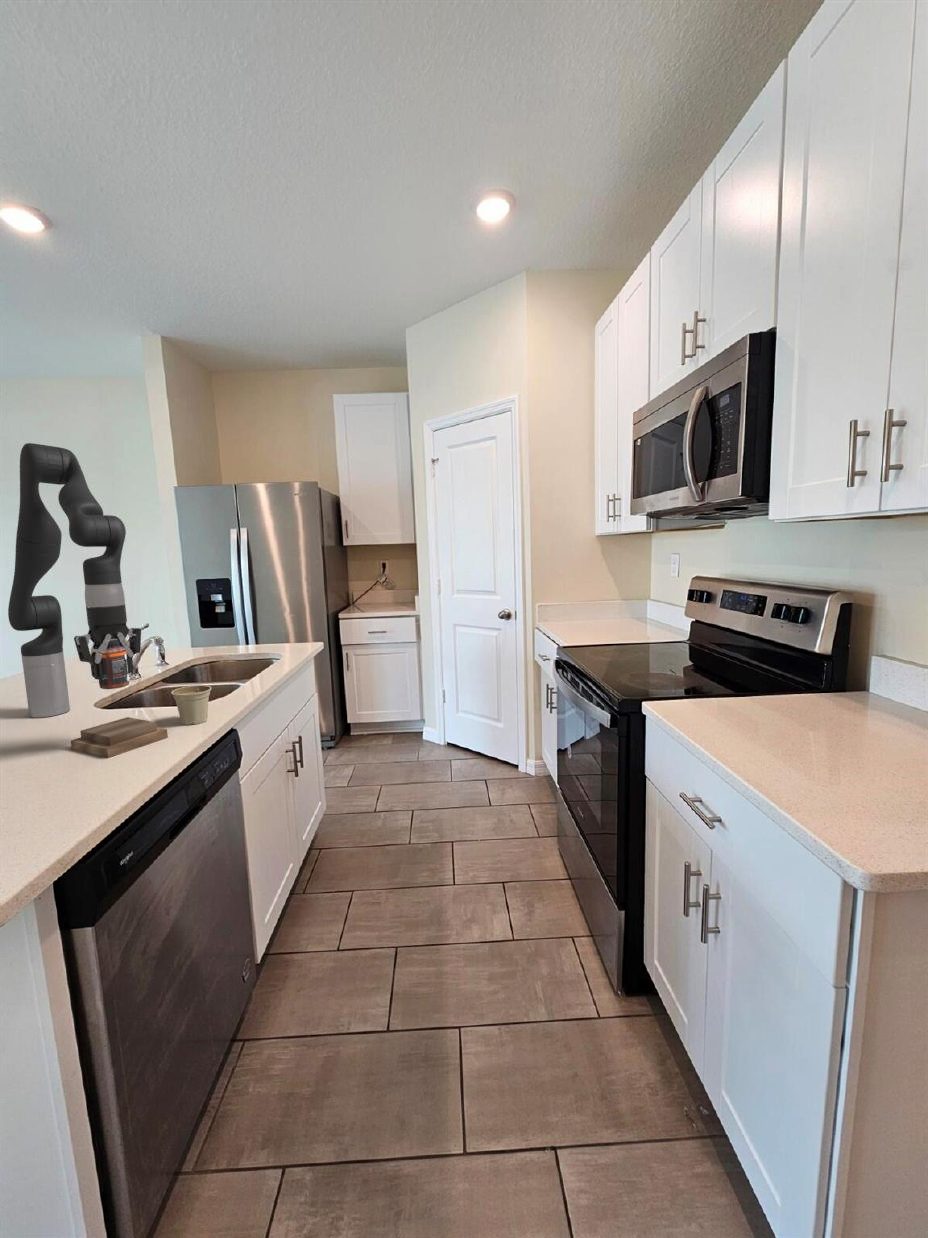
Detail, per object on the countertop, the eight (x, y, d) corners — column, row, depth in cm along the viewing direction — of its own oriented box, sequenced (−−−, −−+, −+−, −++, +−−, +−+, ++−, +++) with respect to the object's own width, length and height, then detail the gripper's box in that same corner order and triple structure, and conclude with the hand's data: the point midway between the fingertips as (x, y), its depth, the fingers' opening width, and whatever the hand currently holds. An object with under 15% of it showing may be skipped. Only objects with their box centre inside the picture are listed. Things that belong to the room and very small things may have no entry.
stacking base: (71, 748, 124) (69, 732, 124) (131, 730, 137) (130, 714, 136) (108, 758, 118) (106, 740, 117) (167, 737, 130) (166, 721, 130)
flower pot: (203, 727, 138) (200, 694, 137) (166, 727, 138) (163, 694, 137) (220, 716, 147) (218, 685, 146) (186, 716, 147) (183, 685, 146)
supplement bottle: (135, 683, 128) (131, 636, 127) (117, 690, 122) (112, 641, 121) (112, 683, 129) (107, 636, 127) (93, 690, 123) (87, 641, 122)
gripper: (126, 600, 131) (133, 668, 133) (61, 606, 118) (70, 681, 121) (146, 601, 128) (153, 670, 130) (81, 607, 115) (90, 684, 117)
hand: (113, 675), depth 125 cm, fingers closed on supplement bottle, 6 cm apart
